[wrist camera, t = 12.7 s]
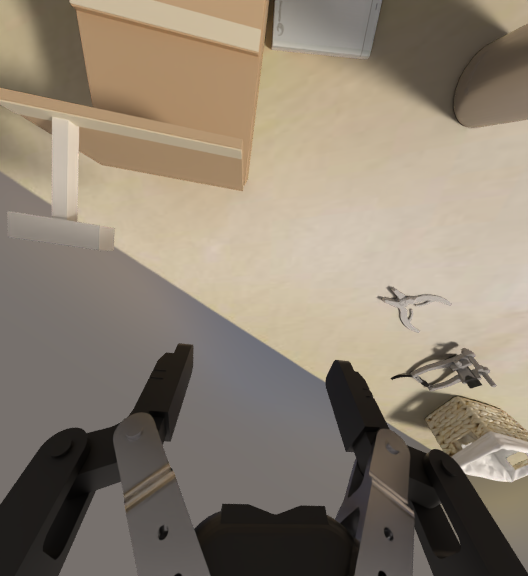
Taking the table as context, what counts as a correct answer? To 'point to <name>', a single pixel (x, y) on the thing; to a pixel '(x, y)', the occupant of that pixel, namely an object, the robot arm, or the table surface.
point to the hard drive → (325, 27)
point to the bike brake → (458, 364)
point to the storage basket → (480, 438)
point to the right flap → (113, 161)
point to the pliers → (404, 301)
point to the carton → (177, 61)
